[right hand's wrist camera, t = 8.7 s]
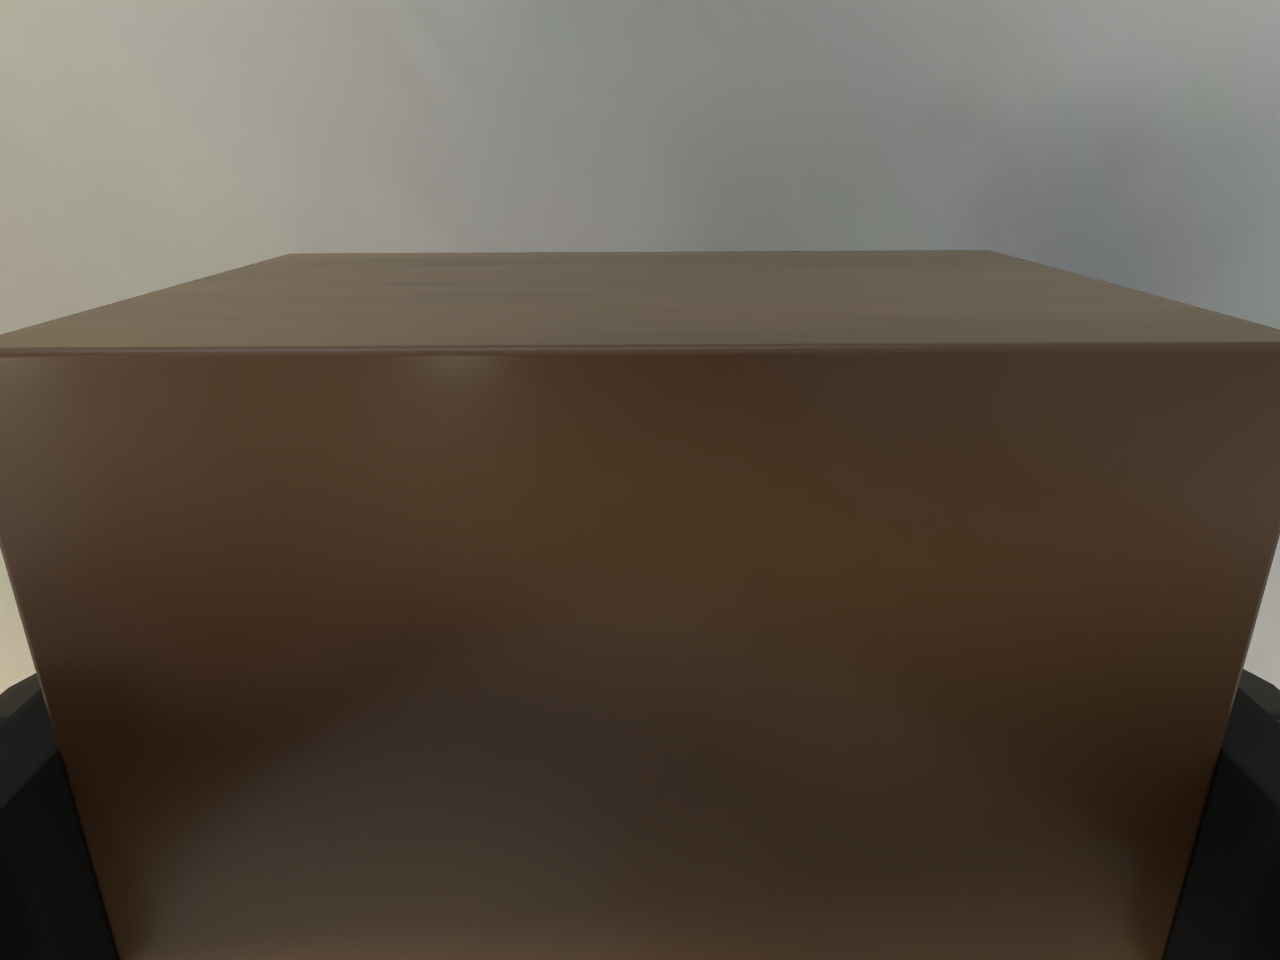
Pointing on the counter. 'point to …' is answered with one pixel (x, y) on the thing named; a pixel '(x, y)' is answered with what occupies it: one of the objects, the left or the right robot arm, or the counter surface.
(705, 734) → the wide beam
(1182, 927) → the right robot arm
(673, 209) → the counter surface
